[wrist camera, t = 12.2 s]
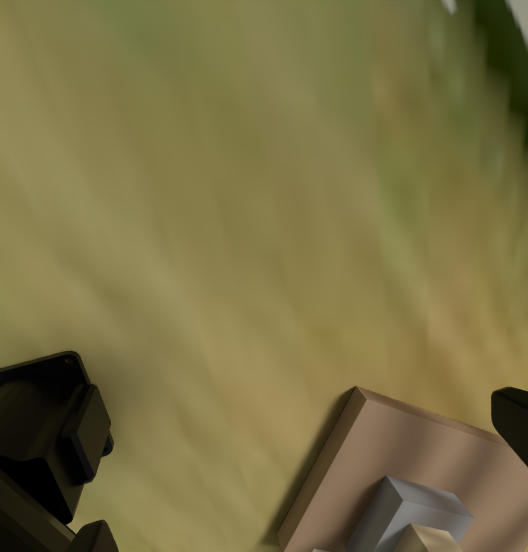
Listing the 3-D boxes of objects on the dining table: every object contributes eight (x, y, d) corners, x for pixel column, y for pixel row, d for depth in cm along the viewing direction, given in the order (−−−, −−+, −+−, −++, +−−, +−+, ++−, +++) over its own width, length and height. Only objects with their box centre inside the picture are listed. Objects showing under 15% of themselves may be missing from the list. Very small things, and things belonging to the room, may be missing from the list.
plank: (276, 533, 26) (282, 555, 24) (355, 386, 24) (367, 399, 22) (482, 572, 31) (497, 591, 30) (559, 456, 30) (578, 470, 28)
